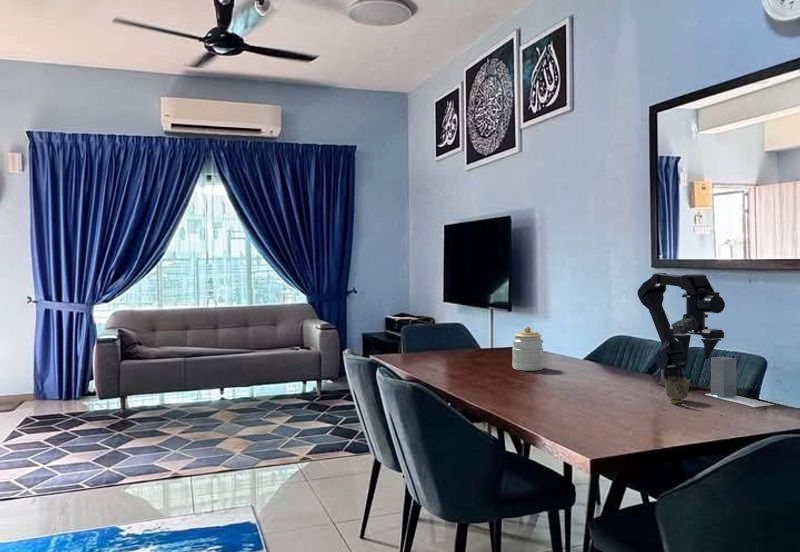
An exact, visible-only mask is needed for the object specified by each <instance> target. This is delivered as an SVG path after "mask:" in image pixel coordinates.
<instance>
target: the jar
mask: <svg viewBox="0 0 800 552" xmlns="http://www.w3.org/2000/svg"><path fill="white" fill-rule="evenodd" d="M513 336H514V338H513V339H512V340H511V341H512V343H513V345H512V348H511V349H512V362H511V363H512V364H511V366H512V369H514V370H517V371H524V372H525V371H526V372H527V371H528V372H531V371H533V372H534V371H540V370H543V369H544V347H543V343H544V339H542V338H541V337H542V334H540V332H538V331H532V328H531V327H530V326H525V327H524V330H523V331H517V332H516V333H515V334H514V335H513Z"/></svg>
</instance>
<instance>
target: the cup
mask: <svg viewBox="0 0 800 552" xmlns="http://www.w3.org/2000/svg"><path fill="white" fill-rule="evenodd" d="M690 382H691V379H690V378H687V377H684V376H683V378H682V379H681V378H680V377H679V378H678V379H677V378H676V377H675V376H673V377H672V378H671V377H670V376H669V377H668V379H666V378H664V384H665V387H664V390H665V394H666V396H667V397H668V398H669V399H670V403H671V404H672V405H677V406H679V405H682V404H683V402H684V399H686V398H687V397H688V395H689V391H690V389H689V388H690Z"/></svg>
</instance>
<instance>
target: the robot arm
mask: <svg viewBox="0 0 800 552" xmlns="http://www.w3.org/2000/svg"><path fill="white" fill-rule="evenodd" d="M667 286H673V287H679V288H680V289H681V290H684V291H685V292H684V293H683V294H682V296H681V297H682V298H685V299H686V301H685V302H686V303H685V305H686V306H685V310H686V311H685V313H683V315H682V319H680V320H677V321H674V322H673V323H671V324H670V320H669V319H668V316H667V313H666V311H665V309H664V306H663V303H664V300H665V297H664V295H665V292H667ZM637 297H638V299H639V301H640V303H641V304H642V305H643V306H644V307H645V308H646V309H647V310H648V312H649V314H650V316H651V319H652V322H653V324H654V326H655V329H656V332H657V334H658V337H659V339H660V343H661V346H660V350H659V352H660V356H659V358H658V359H657V361H656V362H655V363H656V364H655V365H656V368H657V369H660V382H658V383H659V384H660V385H661V386H663V387H664V388H665V384H664V378H666V379H668V377H669V376H670V377H671V378H672V377H673V376H675V377H676V378H677V379H678V378H679V377H680V378H681V379H682V378H683V377H684V372H683V370H685V369H687V366H688V365H687V364H688V361H689V348H690V344H691V343H690V342H691V338H692V335H697V336H701V337H702V338H700V340H701V342H702V343H703V354H704V359H705V360H709V358H711V354H712V353H713V351H714V349H715V348H716V346H717V345H718V343H719V342H720V341H722V339H725V332H724V331H723V330H722V329H718V328H709V326H706V319H707V318H709V314H707V313H710V314H720V313H722V312H723V311H724V309H725V307H726V302H725V300H724V298H723V297H721V296H720V292H715V290H714V288H713V286H712V285H711V283H710V281H709V279H708V277H707V275H706V274H703V273H700V274H699V273H698V274H697V273H696V274H682V275H679V274H669V273H667V272H655V273H653V274H652V275H651V277H650V278H648V279H647V280H645V281H644V282H643V283H642V284H641V285H640V287H639V288H638V289H637Z"/></svg>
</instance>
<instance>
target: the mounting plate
mask: <svg viewBox="0 0 800 552" xmlns="http://www.w3.org/2000/svg"><path fill="white" fill-rule="evenodd" d="M704 395H705V396H708V397H709V396H710V397H713V398H718V399H721V400H725V401H730V402H732V403H733V402H734V403H738V404H741V405H744V406H748V407H752V408H753V407H754V408H757V407H767V406H775V404H774V403H768V402H765V401H761V400H757V399H753V398H748V397H744V396H739V395H736V397H735V398H720V397H715V396H712V395H711V393H705V394H704Z"/></svg>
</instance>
